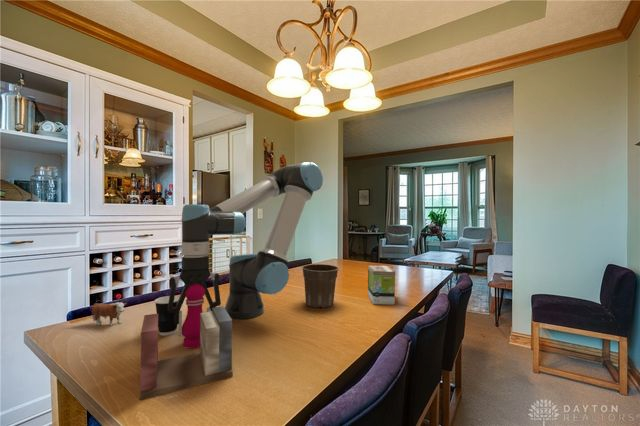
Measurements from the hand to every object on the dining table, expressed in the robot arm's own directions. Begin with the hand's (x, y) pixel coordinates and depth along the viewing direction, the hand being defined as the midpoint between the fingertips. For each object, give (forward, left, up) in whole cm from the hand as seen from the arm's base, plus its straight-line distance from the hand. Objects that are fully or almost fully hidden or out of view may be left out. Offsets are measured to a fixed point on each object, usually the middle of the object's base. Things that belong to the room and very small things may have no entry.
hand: (194, 331), depth 87 cm
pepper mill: (0, 0, -4) cm, 4 cm away
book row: (+3, +16, -4) cm, 17 cm away
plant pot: (-52, -17, -4) cm, 55 cm away
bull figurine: (+25, -30, -4) cm, 39 cm away
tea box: (-80, -10, -4) cm, 81 cm away
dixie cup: (+7, -13, -4) cm, 15 cm away
